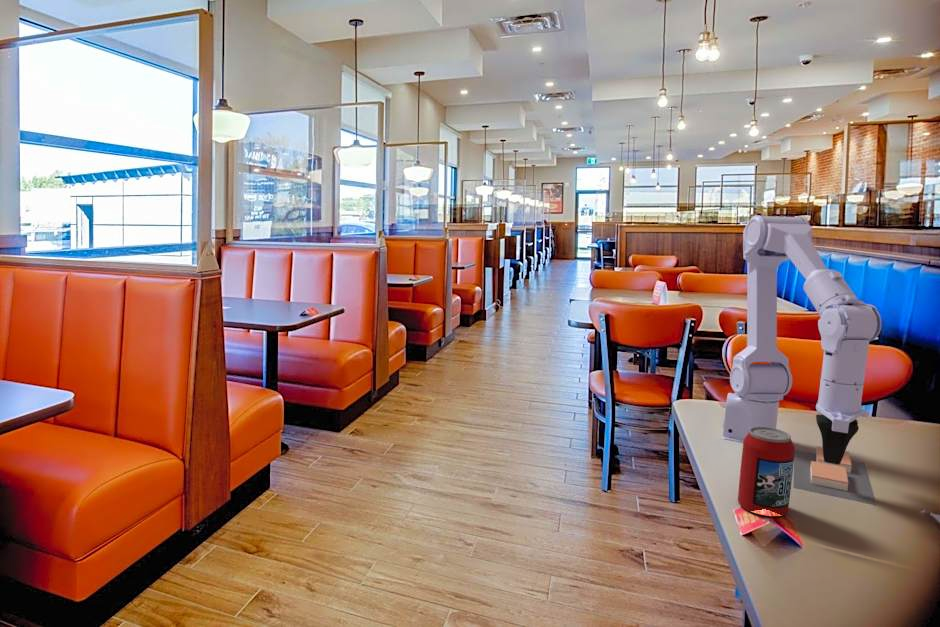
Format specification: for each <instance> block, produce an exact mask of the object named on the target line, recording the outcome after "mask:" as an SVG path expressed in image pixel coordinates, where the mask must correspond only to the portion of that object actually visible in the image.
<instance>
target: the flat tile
mask: <svg viewBox="0 0 940 627" xmlns="http://www.w3.org/2000/svg"><path fill="white" fill-rule="evenodd" d="M815 453H816V462H819V463H825V464H830V465H835V466H841V467H845V468H846V472H848V473H851V466H852V465H851V461H850V460H851V458H850V453H849V451H845V453H844V456H843V458H842V461H841V463H840V464H839V465H837V464H832V463H826V462H825V461H824V457H823V446H816V450H815Z"/></svg>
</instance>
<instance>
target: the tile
mask: <svg viewBox="0 0 940 627" xmlns="http://www.w3.org/2000/svg"><path fill="white" fill-rule="evenodd" d="M810 471H811V484H816V485H821V486H826V487H831V488H835V489H840V490H845V491H847V490H848V478H847V473H846V468H845V467H841V466H835V465H830V464H825V463H819V462H814V461H811V468H810Z"/></svg>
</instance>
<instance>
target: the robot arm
mask: <svg viewBox="0 0 940 627" xmlns="http://www.w3.org/2000/svg"><path fill="white" fill-rule="evenodd" d="M742 231H743V232H742V233H743V234H742V240H743V241H742V252H743V256H742V258H743V260H745V261H746V264H747V266H746V267H747V271H746V272H747V273H746V275H747V276H746V282H747V286H746V287H747V288H746V292H747V293H746V295H747V298H746V302H747V303H746V304H747V305H746V306H747V308H746V309H747V310H746V312H747V313H746V315H747V316H746V318H747V319H746V320H747V321H746V324H747V325H746V326H747V327H746V329H747V330H746V347H745V348H744V349H743V350H741V351H740V352H738V353H737V354H735V355H734V356H733V358H732V366H731V370H730V374H729V383H730V386H731V389H732V391H733V393H732V392H728V393H727V397H726V401H725V402H726V404H725V409H724V410H725V411H724V419H723V422H722V428H723V431H722V440H726V441H731V442H736V443H741V444H743V441H744V438H745V437H746V436H747V434H748V433H749V432H750V429H751V428H754V427H768V428H774V429H777V426H778V425H777V423H778V415H779V405H780V401H782V400H784V396H787V395H788V393H789V392H790V391H791V388H792V386H793V376H792V373H791V370H790V364H789V362H790V361H789V358H788V356H786V354H784V353H783V352H782V351H780V350H779V349H778V348H777V346H778V345H777V344H778V343H777V342H778V340H777V339H778V338H777V337H778V336H777V335H778V329H777V327H778V323H777V322H778V321H777V319H778V317H777V316H778V302H777V301H778V300H777V299H778V288H777V287H778V273H777V272H778V268H779V266H780V265H781V264H782V263H783V262H787V261H788V260H790V262H791V263H792V264H793V265H794V267H795V268H796V269H797V270H798V271H799V273H800V274H801V275H802V277H803V278H804V279H805V281H804V283H803V291H804V292H805V294H806V296H807V298H808V299H809V301H810V302H811V304H812V306H813V308H814V309H815V311H816V312H817V313H818V315H819V317H820V318H819V319H818V320H817V321H818V322H817V326H818V331H819V335H820V337H821V339H820V340H821V342H820V346H821V350H823V359H822V364H821V366H822V367H821V373H820V375H821V376H820V382H819V391H818V400H817V402H816V405H815V409H816V410H817V411H818V412H819V413H821V414H816V416H815V418H816V424H817V427H818V429H819V431H820V435H821V441H822V447H823V457H824V461H825V462H826V463H832V464H837V465H839V464H840V463H841V461H842V458H843V456H844V453H845V452H846V449H847V447H848V445H849V443H850V442H851V439H852V438H853V437H854V435H856V434H857V432H858V431H859V425H858V424H859V421H858V420H857V419H858V418H859V419H860V418H861V417H865V418H869V417H870V411H869V410H868V409H864V408H863V409H862V408H861V407H862V399H863V398H862V397H863V392H864V391H863V390H864V384H865V378H866V377H865V375H866V370H867V368H866V367H867V361H868V356H869V354H868V353H869V347H870V346H869V345H870V342H872V341H874V340H875V339H876V338H878V336H879V335H880V333H881V329H882V318H881V317H882V316H881V315H880V312H879V311H878V308H877V307H876V306H874V305H873V304H870V303H865V302H864V301H863V300H859V299H858V297H857V296H856V294H855V293H854V292H853V291H852V289H851V288H850V285H849V284H848V283H847V281H846V280H845V279H844V276H843V274H842V273H841V272H840V271H837V270H835V269H829V268H828V269H827V267H826V265H825V263H824V261H823V259H822V258H821V255H820V254H819V252H818V250H817V249H816V247H815V244H814V243H813V240H812V239H813V231H814V230H813V227H812V226H811V225H810V222H809V220H808V219H807V218H806V217H804V216H801V215H800V216H769V215H768V216H765V215H764V216H763V215H759V214H758V215H757V214H755V215H753V216H752V217H751V218H750V219H749V220H748V221H747V223H746V225H745V226H744V229H743V230H742Z"/></svg>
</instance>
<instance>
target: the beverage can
mask: <svg viewBox="0 0 940 627" xmlns="http://www.w3.org/2000/svg"><path fill="white" fill-rule="evenodd" d="M795 450H796V447H795V445H794V442H793V440H792V436H791V434H789V433H787V432H786V431H784V430H781V429H778V428H776V429H774V428H768V427H754V428H751V429H750V432H749V433H748V434H747V436H746V437H745V438H744V441H743V443H742V452H741V460H740V469H739V470H740V471H739V482H738V495H737V502H738V504H739V505H740V507H742V508H743V509H744V510H746V511H747V510H748V511H747V512H749V511H755V510H762V509H766V510H770V511H772V512H775V513H777V514H780V515H782V516H785V515H787V514H788V513H789V507H790V506H789V505H790V497H791V491H792V484H793V482H792V481H793V475H794V455H795ZM782 516H781V517H782Z"/></svg>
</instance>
